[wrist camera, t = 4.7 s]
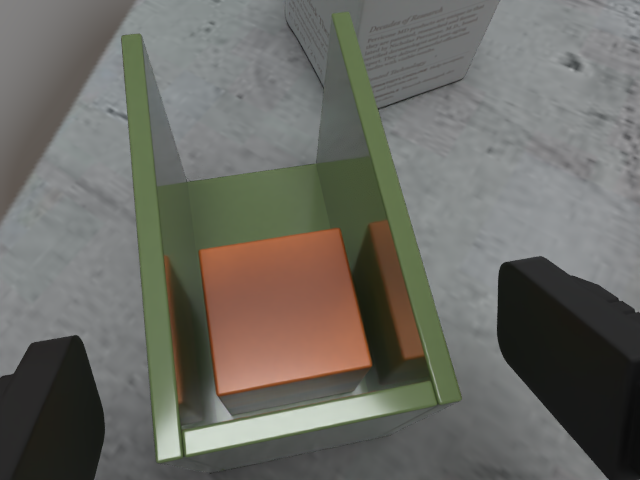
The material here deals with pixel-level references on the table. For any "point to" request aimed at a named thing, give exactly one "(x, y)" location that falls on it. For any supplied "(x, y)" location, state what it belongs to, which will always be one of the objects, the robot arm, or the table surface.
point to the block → (283, 320)
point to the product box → (398, 39)
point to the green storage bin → (270, 222)
